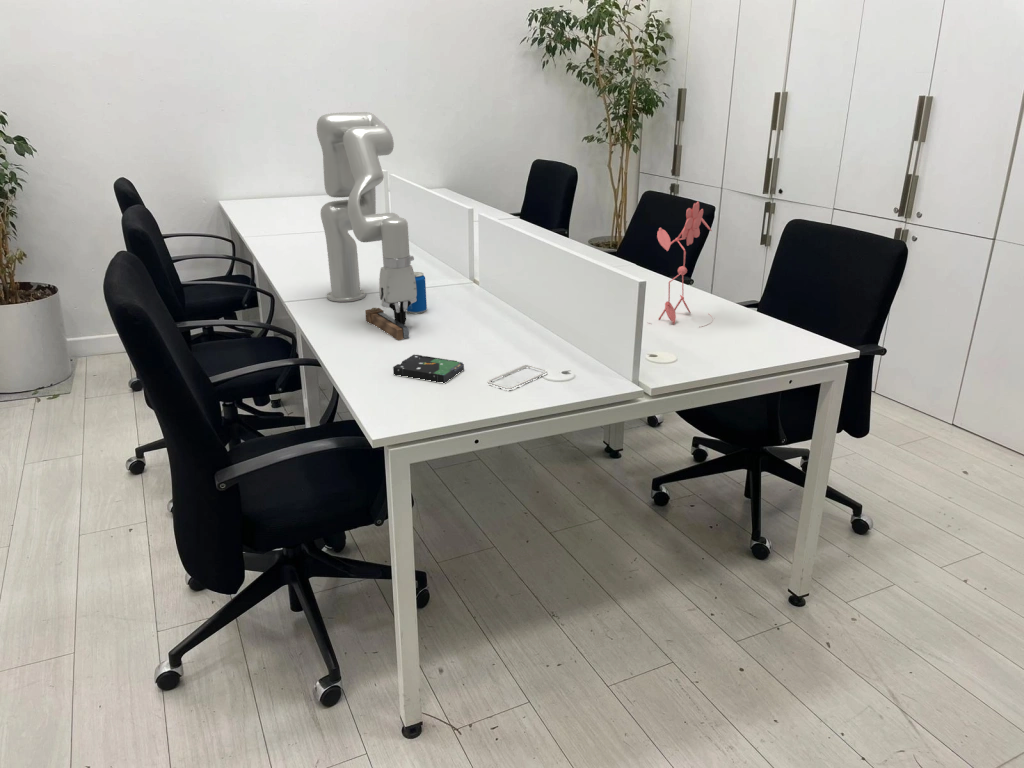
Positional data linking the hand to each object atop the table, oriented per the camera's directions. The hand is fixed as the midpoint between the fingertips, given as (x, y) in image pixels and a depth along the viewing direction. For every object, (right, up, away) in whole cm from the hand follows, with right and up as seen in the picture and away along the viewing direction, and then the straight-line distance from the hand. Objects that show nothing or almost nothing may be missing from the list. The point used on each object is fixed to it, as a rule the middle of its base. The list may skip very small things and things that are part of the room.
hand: (400, 323), depth 226 cm
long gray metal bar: (-2, -2, -1) cm, 3 cm away
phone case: (+34, -17, -36) cm, 53 cm away
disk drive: (+12, -15, -32) cm, 37 cm away
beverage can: (+3, +5, +17) cm, 17 cm away
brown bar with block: (-3, -2, 0) cm, 4 cm away
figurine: (+85, +1, +6) cm, 85 cm away
